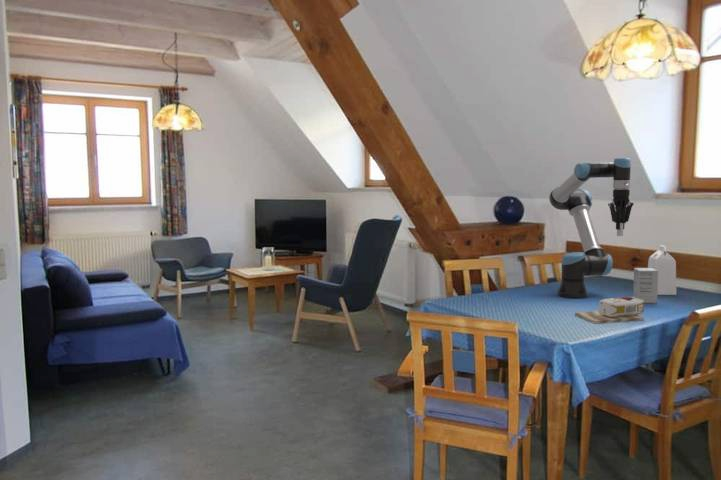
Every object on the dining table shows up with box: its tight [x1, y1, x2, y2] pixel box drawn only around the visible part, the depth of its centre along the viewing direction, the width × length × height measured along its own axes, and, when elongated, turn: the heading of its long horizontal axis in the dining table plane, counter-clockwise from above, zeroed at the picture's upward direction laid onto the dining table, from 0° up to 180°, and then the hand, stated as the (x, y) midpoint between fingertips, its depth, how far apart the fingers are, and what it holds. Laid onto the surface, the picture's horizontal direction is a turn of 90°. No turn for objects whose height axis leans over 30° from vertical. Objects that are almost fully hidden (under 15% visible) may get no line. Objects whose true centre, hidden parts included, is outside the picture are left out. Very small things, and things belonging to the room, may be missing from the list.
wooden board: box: [574, 310, 645, 324], centre depth 255 cm, size 24×16×1 cm, turn 100°
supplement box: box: [632, 267, 658, 304], centre depth 286 cm, size 10×9×17 cm
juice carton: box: [598, 296, 645, 317], centre depth 255 cm, size 8×9×19 cm
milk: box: [647, 244, 677, 296], centre depth 306 cm, size 12×12×26 cm
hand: (619, 235), depth 281 cm, fingers closed
